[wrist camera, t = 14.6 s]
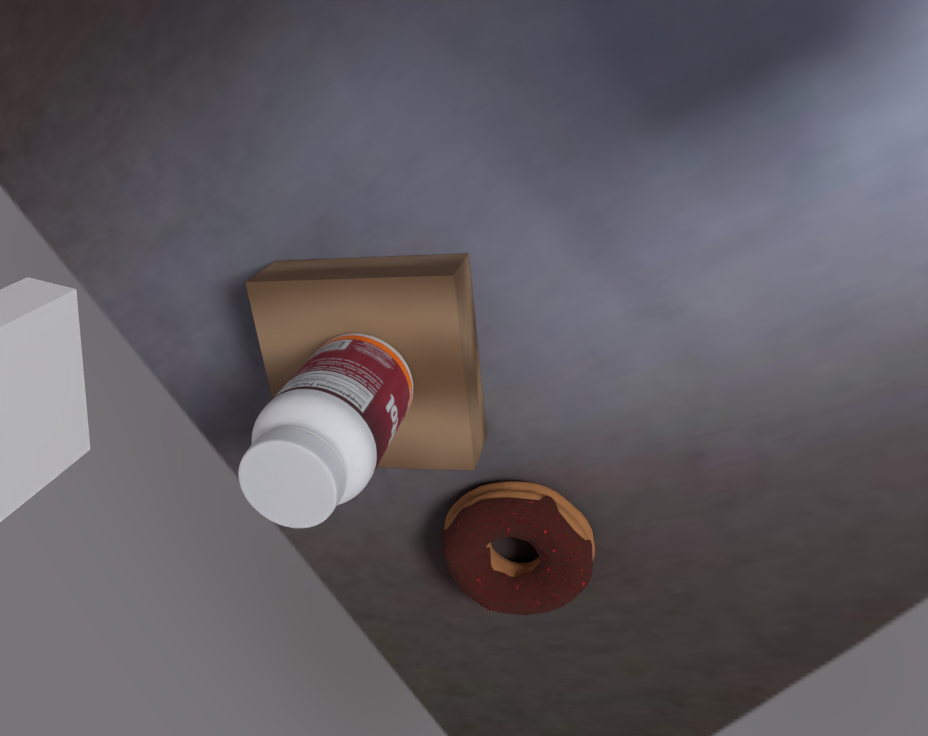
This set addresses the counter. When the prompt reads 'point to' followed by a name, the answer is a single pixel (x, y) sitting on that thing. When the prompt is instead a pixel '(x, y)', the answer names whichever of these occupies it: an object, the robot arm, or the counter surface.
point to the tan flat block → (386, 340)
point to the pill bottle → (326, 430)
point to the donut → (527, 518)
